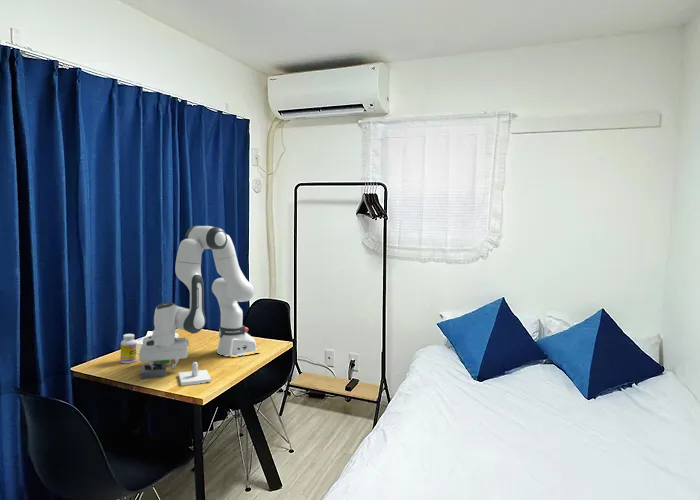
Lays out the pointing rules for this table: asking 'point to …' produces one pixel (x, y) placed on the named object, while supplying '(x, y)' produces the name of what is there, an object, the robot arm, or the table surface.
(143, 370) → the gray square tray
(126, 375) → the table surface
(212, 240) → the robot arm
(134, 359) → the supplement bottle
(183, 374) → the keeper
